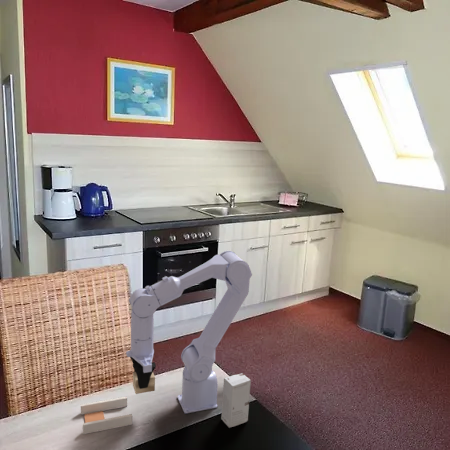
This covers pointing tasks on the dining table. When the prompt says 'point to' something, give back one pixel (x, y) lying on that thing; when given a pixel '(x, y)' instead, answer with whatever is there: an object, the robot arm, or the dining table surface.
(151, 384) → the block
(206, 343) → the robot arm
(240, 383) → the skincare box
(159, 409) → the dining table surface
